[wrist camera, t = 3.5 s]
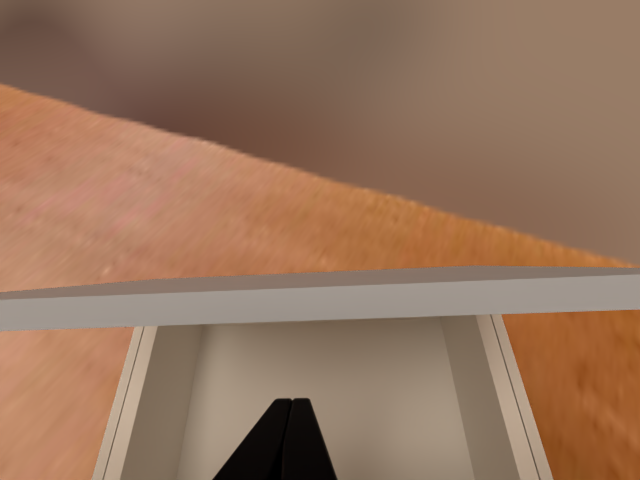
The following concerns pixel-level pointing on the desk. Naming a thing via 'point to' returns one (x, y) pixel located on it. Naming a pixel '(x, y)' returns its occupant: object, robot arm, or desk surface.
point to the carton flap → (323, 297)
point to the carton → (327, 398)
